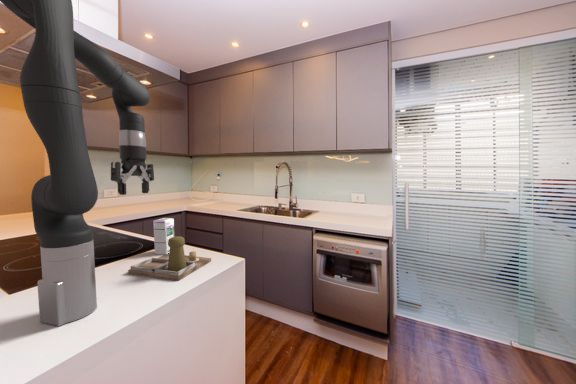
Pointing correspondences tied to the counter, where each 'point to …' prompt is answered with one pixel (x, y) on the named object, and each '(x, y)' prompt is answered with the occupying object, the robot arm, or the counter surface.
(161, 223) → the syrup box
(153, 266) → the board
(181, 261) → the cork
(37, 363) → the counter surface
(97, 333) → the counter surface
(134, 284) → the counter surface
